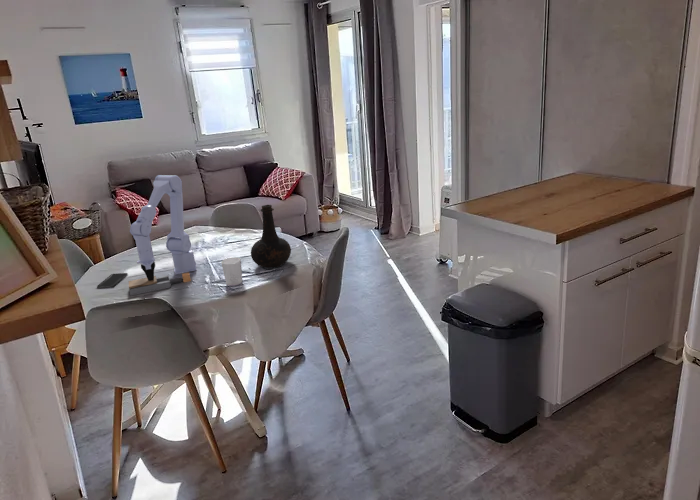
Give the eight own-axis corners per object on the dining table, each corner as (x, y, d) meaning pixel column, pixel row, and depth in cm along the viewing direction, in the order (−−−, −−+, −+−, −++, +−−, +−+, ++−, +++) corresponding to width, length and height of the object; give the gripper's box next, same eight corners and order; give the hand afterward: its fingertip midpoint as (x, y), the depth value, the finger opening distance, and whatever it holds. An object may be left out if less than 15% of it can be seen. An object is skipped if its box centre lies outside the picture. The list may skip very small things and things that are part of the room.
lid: (156, 277, 219) (155, 275, 219) (157, 283, 212) (156, 281, 212) (128, 282, 215) (128, 281, 215) (129, 288, 208) (128, 286, 208)
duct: (169, 280, 222) (168, 275, 221) (170, 287, 215) (169, 281, 214) (130, 288, 216) (129, 283, 215) (130, 295, 209) (129, 289, 208)
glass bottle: (245, 269, 229) (236, 209, 219) (267, 256, 244) (260, 199, 234) (278, 274, 221) (270, 212, 212) (299, 260, 236) (293, 201, 227)
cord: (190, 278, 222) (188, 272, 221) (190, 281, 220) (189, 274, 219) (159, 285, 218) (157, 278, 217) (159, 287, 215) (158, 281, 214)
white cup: (221, 283, 215) (217, 261, 212) (237, 277, 220) (233, 256, 217) (231, 288, 209) (227, 265, 206) (247, 282, 215) (244, 260, 211)
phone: (95, 287, 219) (111, 273, 233) (96, 289, 219) (112, 276, 233) (113, 286, 218) (128, 272, 232) (114, 288, 219) (129, 275, 233)
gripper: (134, 246, 215) (140, 276, 219) (134, 256, 202) (141, 287, 207) (151, 243, 217) (157, 273, 222) (153, 253, 205) (159, 284, 209)
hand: (151, 280), depth 214 cm, fingers closed, pressing on lid
